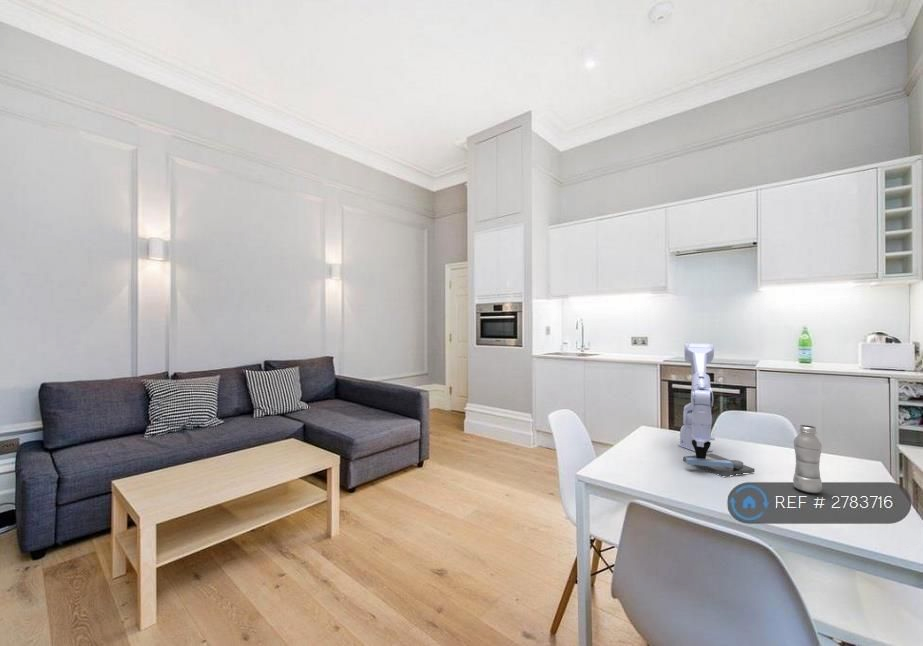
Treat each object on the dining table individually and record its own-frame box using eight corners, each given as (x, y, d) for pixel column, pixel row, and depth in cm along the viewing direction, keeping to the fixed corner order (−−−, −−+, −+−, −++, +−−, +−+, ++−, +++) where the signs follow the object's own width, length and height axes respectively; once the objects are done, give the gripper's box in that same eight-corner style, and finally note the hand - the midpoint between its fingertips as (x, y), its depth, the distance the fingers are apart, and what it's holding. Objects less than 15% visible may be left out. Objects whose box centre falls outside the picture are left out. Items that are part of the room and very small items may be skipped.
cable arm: (739, 465, 131) (740, 460, 131) (745, 469, 128) (745, 464, 128) (685, 461, 135) (685, 456, 135) (688, 465, 131) (689, 459, 131)
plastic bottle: (827, 497, 113) (828, 430, 113) (801, 494, 114) (802, 428, 114) (812, 487, 119) (813, 424, 119) (787, 485, 121) (788, 423, 121)
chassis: (683, 460, 142) (683, 455, 142) (711, 457, 146) (711, 452, 146) (724, 477, 127) (724, 471, 127) (754, 473, 131) (754, 467, 131)
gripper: (714, 430, 126) (714, 471, 126) (715, 421, 138) (714, 458, 138) (690, 426, 130) (689, 466, 130) (692, 418, 142) (692, 454, 142)
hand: (700, 461), depth 134 cm, fingers closed
